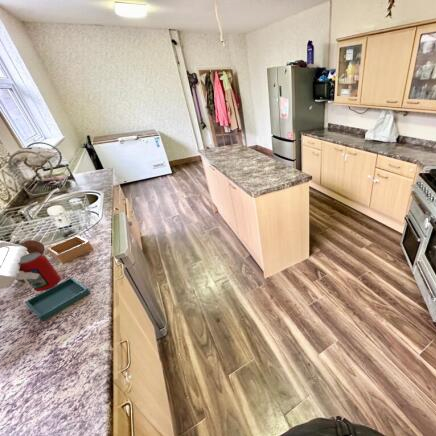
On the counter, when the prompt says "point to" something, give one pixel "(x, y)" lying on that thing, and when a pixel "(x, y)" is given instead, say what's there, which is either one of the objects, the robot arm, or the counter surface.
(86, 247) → the basket
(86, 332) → the counter surface
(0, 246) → the robot arm
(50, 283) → the beverage can
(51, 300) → the tray
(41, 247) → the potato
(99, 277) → the counter surface
